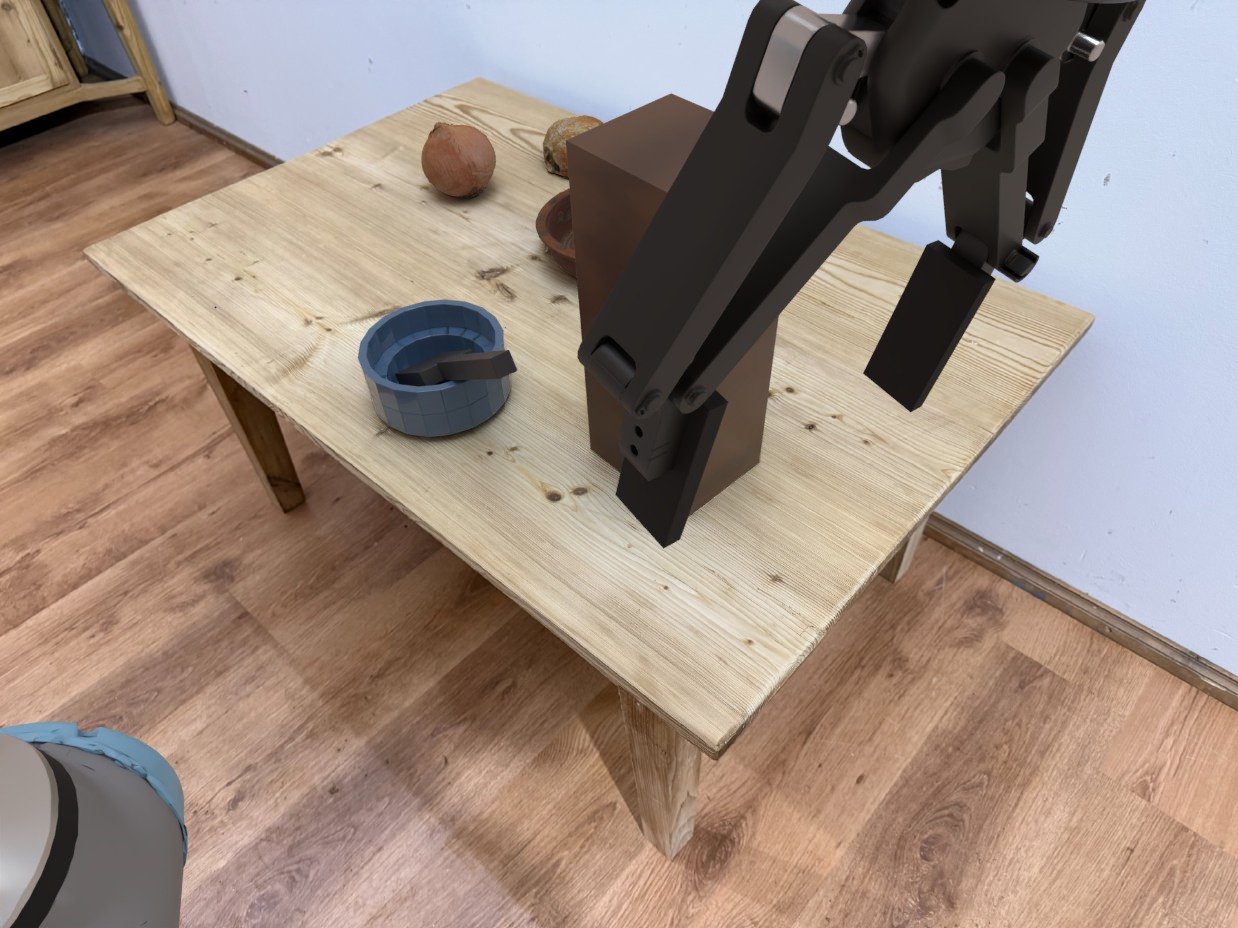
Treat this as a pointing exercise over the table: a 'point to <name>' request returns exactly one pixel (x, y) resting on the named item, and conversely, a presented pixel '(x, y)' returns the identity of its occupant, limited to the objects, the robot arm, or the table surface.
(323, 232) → the table surface
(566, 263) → the dish
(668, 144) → the stand
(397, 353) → the bowl
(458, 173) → the onion
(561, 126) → the bread roll
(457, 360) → the stepped dark block
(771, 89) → the robot arm
